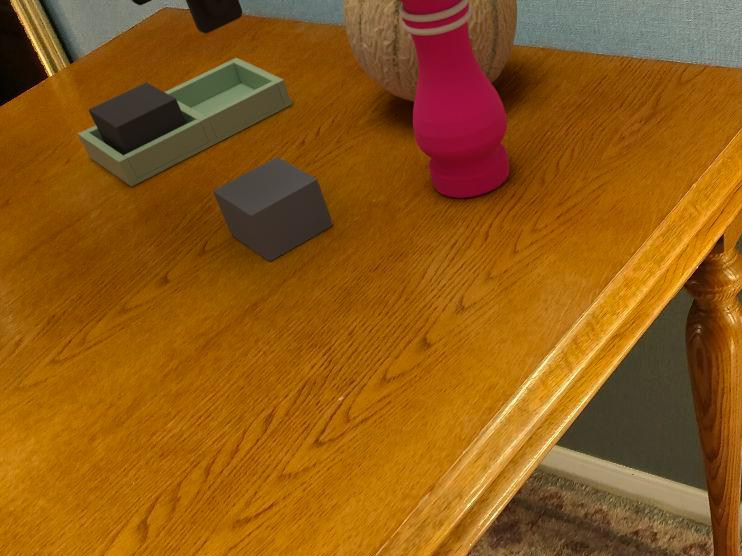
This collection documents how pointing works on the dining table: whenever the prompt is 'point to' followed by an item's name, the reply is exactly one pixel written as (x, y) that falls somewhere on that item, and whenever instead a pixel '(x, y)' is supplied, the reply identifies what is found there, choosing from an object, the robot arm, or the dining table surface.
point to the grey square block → (273, 208)
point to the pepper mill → (454, 101)
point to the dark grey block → (137, 118)
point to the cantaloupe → (397, 49)
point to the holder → (197, 119)
